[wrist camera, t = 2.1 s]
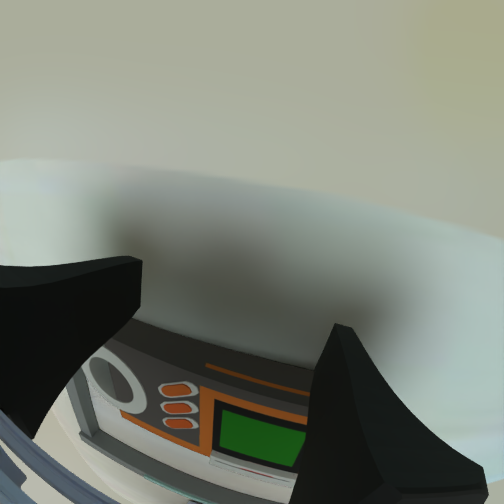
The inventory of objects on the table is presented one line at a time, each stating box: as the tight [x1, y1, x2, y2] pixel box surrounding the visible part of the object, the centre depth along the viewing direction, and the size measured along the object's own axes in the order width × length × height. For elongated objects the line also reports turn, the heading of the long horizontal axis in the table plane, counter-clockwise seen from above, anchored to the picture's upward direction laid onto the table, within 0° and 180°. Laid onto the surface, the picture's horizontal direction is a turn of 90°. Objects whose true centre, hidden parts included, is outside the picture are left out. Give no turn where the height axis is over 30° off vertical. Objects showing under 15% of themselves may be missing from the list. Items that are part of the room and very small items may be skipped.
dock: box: [66, 367, 281, 504], centre depth 15 cm, size 10×21×2 cm, turn 77°
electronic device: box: [81, 318, 314, 488], centre depth 13 cm, size 7×3×15 cm
